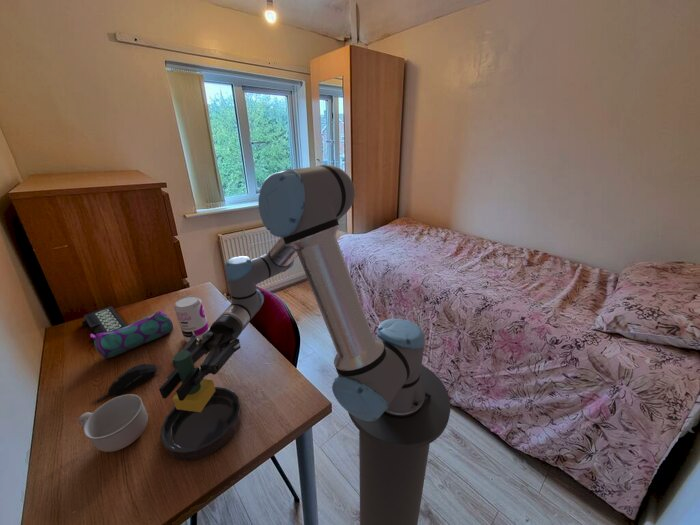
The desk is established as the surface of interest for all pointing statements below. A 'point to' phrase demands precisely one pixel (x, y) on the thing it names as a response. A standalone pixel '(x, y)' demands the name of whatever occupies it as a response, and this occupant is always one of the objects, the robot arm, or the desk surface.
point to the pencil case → (132, 335)
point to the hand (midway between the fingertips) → (171, 394)
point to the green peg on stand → (198, 393)
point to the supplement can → (191, 317)
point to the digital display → (103, 321)
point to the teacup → (115, 423)
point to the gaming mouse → (131, 379)
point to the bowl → (202, 427)
